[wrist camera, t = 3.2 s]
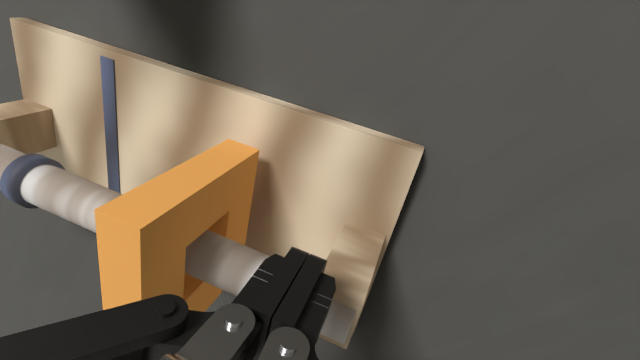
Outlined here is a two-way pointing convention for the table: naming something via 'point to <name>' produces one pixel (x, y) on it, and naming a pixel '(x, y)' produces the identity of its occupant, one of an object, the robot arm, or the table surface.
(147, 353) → the robot arm
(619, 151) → the table surface
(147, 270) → the collar
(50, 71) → the pipe stand
